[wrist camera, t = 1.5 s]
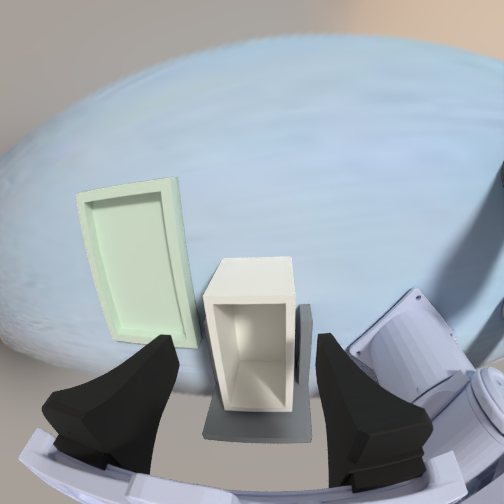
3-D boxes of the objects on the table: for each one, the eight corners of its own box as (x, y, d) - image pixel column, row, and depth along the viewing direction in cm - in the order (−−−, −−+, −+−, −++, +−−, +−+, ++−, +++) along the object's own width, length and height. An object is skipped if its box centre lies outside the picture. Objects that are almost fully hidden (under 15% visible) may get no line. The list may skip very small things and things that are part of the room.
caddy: (291, 360, 23) (292, 411, 18) (235, 360, 24) (224, 410, 18) (291, 255, 20) (295, 294, 14) (223, 257, 21) (202, 296, 15)
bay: (306, 371, 23) (311, 442, 16) (222, 371, 24) (204, 439, 17) (309, 304, 21) (321, 376, 14) (211, 305, 22) (181, 374, 14)
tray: (202, 338, 23) (198, 348, 22) (120, 331, 24) (113, 339, 23) (178, 176, 19) (170, 178, 17) (86, 191, 20) (75, 193, 18)
